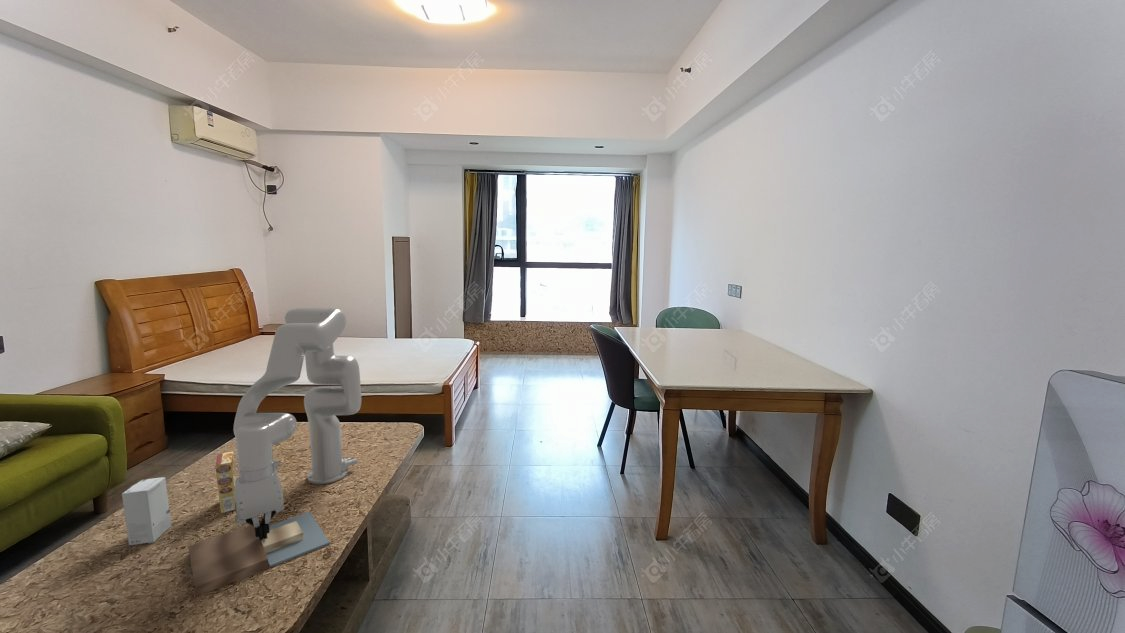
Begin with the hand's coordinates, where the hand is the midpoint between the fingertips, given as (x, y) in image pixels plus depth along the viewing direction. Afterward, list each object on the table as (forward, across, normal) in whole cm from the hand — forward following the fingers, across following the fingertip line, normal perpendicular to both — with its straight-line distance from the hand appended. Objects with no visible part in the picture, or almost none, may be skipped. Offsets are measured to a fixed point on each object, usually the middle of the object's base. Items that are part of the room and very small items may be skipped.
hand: (262, 537), depth 120 cm
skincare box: (+4, +22, -26) cm, 34 cm away
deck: (+3, +8, 0) cm, 8 cm away
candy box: (+4, +4, -30) cm, 31 cm away
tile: (+3, -4, 0) cm, 5 cm away
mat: (+3, -6, 0) cm, 7 cm away
